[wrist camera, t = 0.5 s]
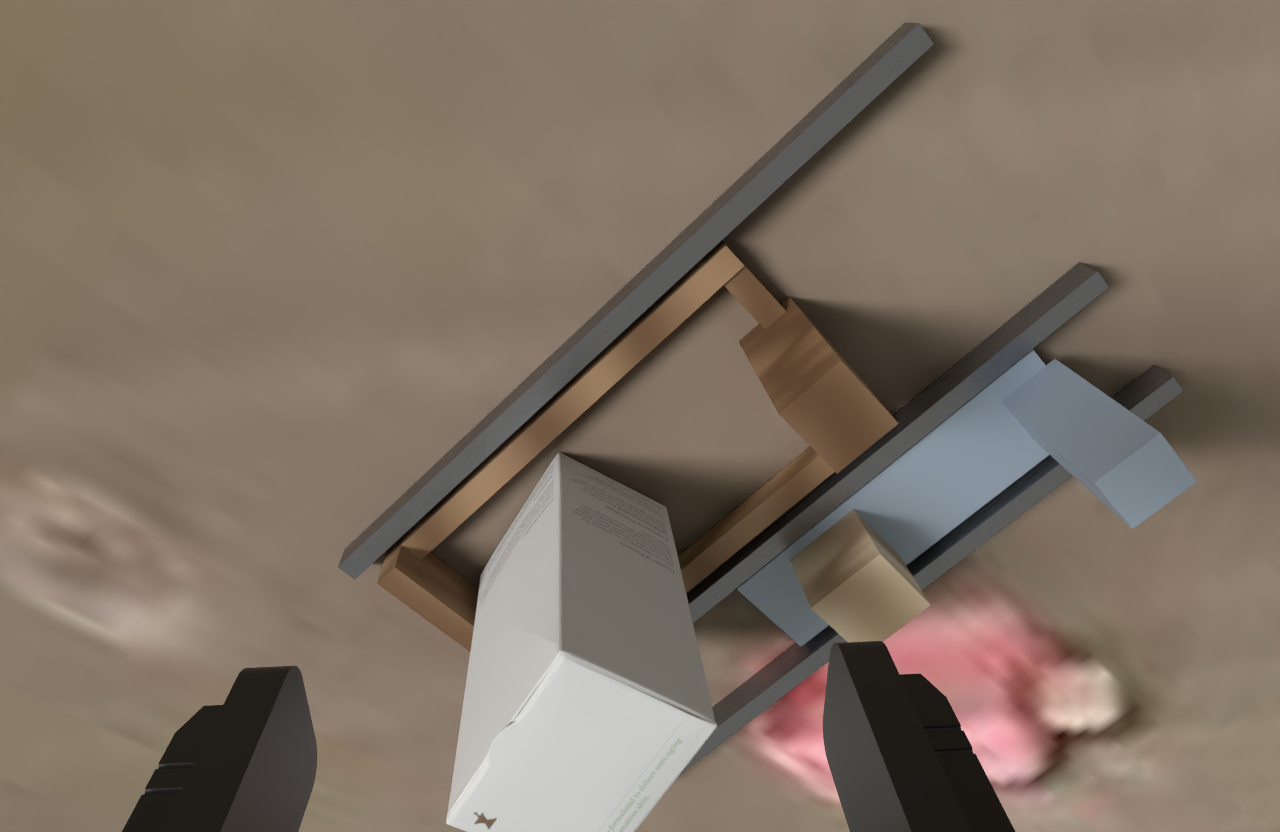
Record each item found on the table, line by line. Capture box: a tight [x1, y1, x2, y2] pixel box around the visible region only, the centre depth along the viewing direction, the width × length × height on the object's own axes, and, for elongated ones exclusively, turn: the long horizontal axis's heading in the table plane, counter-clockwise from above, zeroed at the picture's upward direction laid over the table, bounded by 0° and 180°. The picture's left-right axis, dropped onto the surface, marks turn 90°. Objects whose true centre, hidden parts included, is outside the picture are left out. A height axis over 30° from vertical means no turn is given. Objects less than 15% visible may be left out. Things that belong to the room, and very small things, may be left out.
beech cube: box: [790, 509, 931, 642], centre depth 44 cm, size 4×4×4 cm
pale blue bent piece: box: [736, 349, 1197, 646], centre depth 41 cm, size 18×5×9 cm, turn 133°
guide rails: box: [338, 23, 1183, 773], centre depth 43 cm, size 34×22×2 cm, turn 133°
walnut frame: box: [377, 240, 899, 651], centre depth 40 cm, size 22×12×8 cm, turn 133°
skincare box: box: [446, 453, 717, 832], centre depth 38 cm, size 8×7×16 cm
